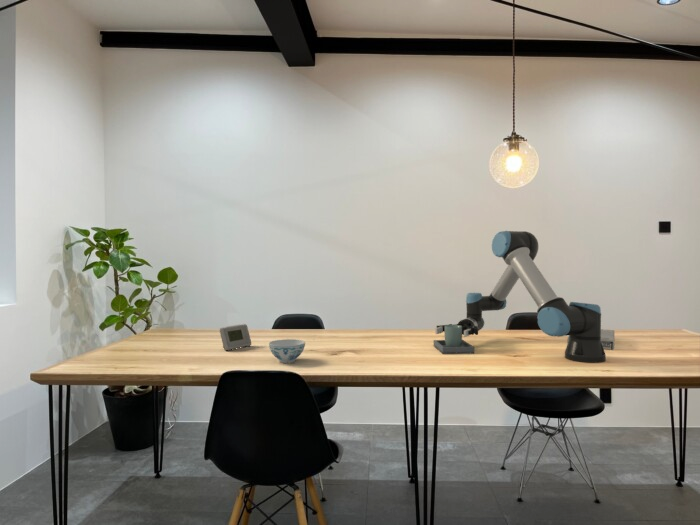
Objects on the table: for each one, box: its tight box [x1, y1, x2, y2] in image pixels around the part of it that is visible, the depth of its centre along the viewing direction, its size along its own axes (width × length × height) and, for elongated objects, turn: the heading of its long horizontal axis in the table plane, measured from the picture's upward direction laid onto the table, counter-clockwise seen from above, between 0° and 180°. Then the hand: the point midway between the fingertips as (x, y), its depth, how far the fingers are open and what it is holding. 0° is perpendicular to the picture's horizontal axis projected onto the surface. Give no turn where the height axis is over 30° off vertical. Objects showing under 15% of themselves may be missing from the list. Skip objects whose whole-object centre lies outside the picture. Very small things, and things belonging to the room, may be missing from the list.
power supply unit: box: [567, 328, 615, 351], centre depth 230 cm, size 19×33×5 cm, turn 150°
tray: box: [433, 339, 475, 355], centre depth 216 cm, size 18×14×3 cm
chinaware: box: [268, 338, 306, 364], centre depth 196 cm, size 15×15×8 cm
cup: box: [443, 324, 463, 347], centre depth 216 cm, size 8×8×10 cm
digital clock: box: [219, 323, 252, 351], centre depth 224 cm, size 16×9×11 cm, turn 132°
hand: (450, 332), depth 213 cm, fingers open, 13 cm apart
